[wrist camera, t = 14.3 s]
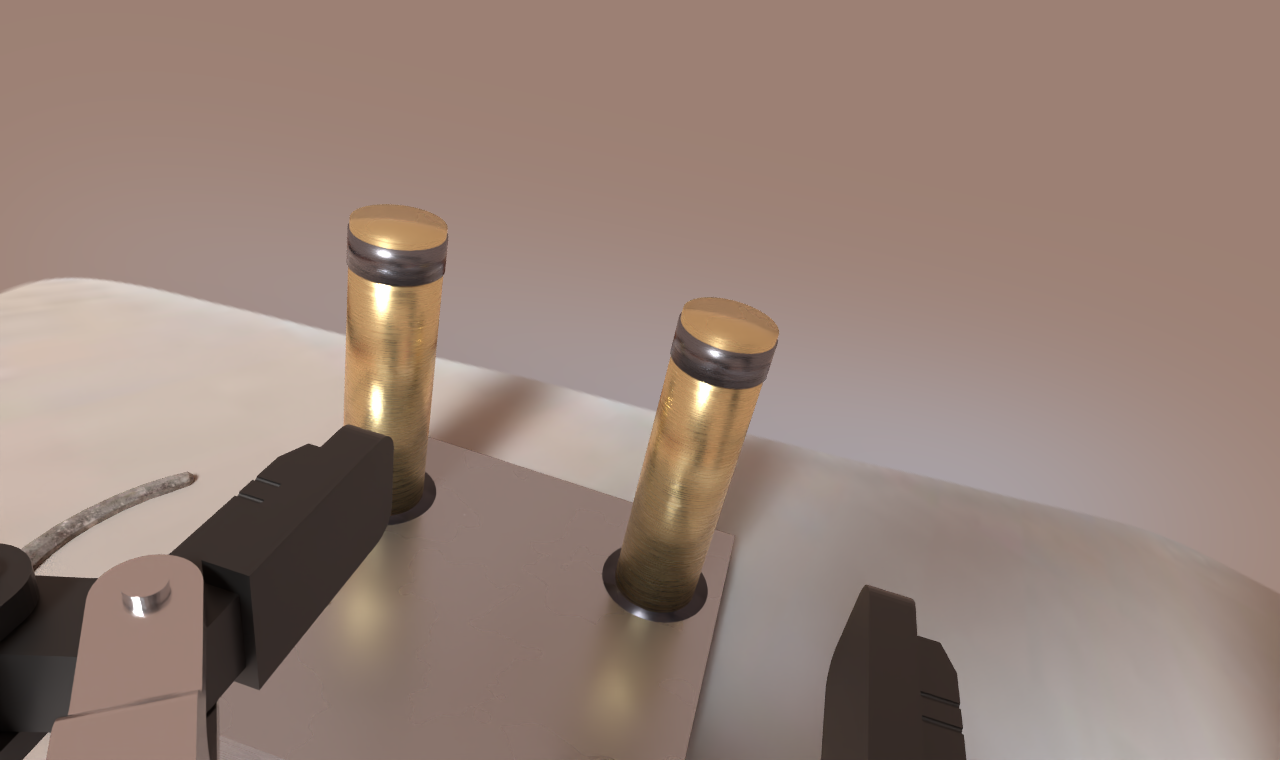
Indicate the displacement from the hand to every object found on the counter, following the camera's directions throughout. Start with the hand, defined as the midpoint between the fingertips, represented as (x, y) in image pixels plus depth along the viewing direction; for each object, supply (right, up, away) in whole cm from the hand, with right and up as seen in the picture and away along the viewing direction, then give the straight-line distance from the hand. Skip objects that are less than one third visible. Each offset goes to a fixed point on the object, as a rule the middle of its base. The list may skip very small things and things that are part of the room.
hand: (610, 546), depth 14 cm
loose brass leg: (+1, -5, +17) cm, 18 cm away
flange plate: (-5, -6, +15) cm, 17 cm away
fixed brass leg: (-9, -1, +18) cm, 21 cm away
